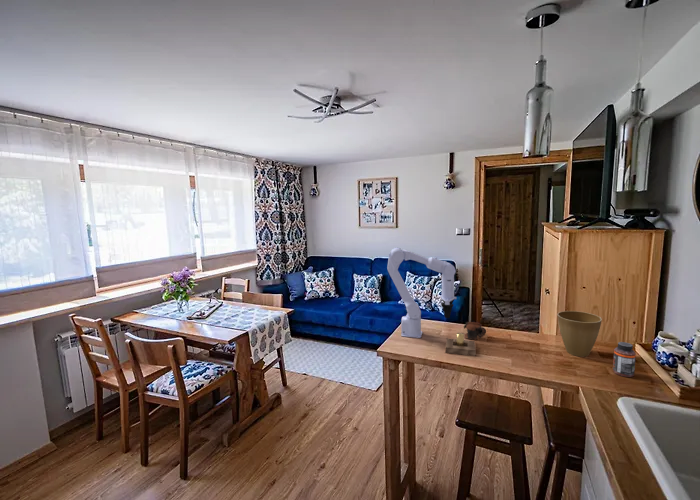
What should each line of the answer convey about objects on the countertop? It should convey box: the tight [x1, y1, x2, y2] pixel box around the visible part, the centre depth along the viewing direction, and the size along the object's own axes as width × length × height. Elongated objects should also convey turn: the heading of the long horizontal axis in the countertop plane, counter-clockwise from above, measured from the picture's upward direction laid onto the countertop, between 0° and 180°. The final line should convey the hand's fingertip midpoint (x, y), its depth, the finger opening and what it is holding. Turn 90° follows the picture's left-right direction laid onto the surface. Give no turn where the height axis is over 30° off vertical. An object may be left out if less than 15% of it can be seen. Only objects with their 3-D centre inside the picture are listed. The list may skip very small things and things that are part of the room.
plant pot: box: [556, 310, 603, 358], centre depth 133 cm, size 15×15×16 cm
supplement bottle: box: [612, 341, 637, 378], centre depth 116 cm, size 6×6×11 cm
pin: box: [456, 332, 465, 346], centre depth 140 cm, size 3×3×7 cm
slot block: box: [445, 337, 477, 357], centre depth 140 cm, size 12×10×2 cm
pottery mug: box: [463, 321, 487, 341], centre depth 153 cm, size 12×10×8 cm
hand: (447, 315), depth 156 cm, fingers open, 7 cm apart
